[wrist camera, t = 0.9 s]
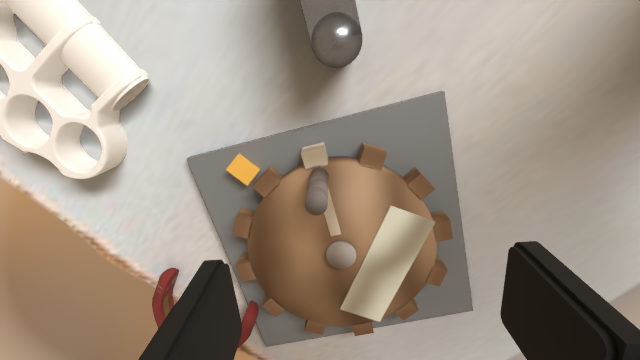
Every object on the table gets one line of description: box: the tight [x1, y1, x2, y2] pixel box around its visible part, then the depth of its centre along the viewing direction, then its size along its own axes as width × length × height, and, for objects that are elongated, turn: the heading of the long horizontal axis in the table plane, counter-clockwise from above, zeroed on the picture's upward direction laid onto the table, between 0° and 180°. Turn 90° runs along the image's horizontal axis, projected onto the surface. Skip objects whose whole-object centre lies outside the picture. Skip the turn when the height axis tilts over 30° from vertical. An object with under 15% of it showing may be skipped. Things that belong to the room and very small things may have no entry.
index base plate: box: [187, 91, 473, 347], centre depth 32 cm, size 24×24×2 cm
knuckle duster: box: [0, 0, 150, 179], centre depth 28 cm, size 3×18×15 cm
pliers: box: [152, 268, 258, 348], centre depth 38 cm, size 12×20×3 cm, turn 157°
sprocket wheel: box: [233, 142, 453, 336], centre depth 29 cm, size 21×21×8 cm
